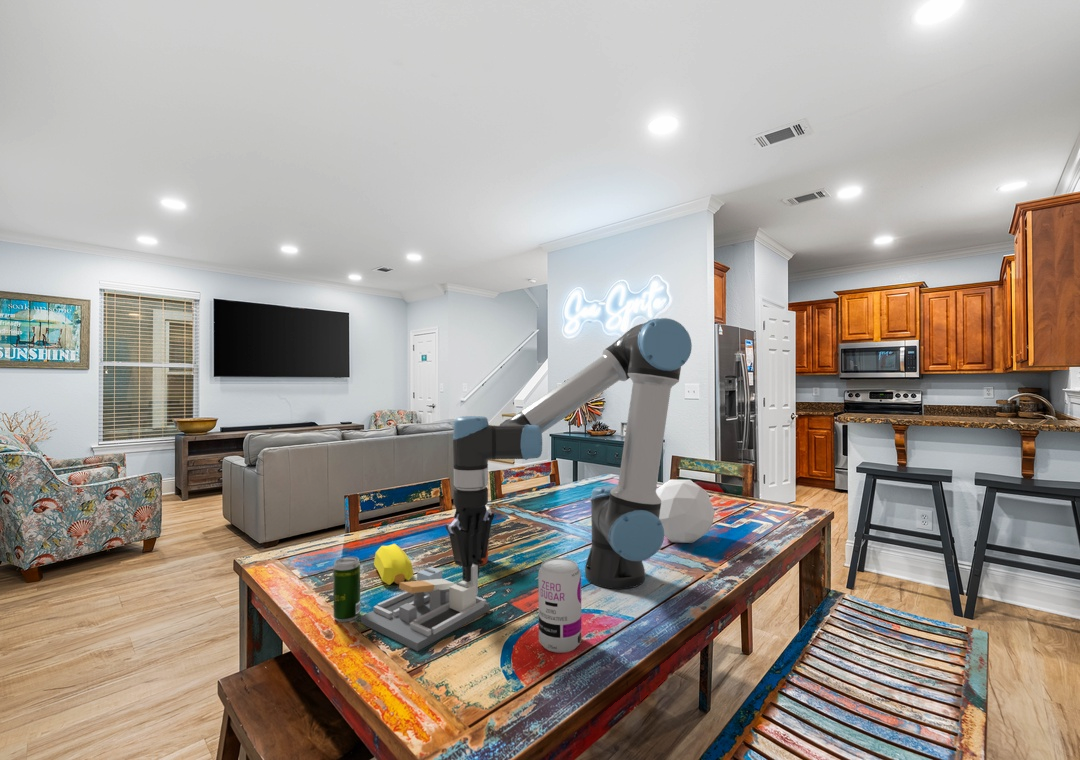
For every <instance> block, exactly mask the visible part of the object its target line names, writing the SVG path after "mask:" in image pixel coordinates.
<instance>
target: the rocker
mask: <svg viewBox="0 0 1080 760" xmlns="http://www.w3.org/2000/svg"><path fill="white" fill-rule="evenodd" d="M454 584H455V582H454V581H450V580H447V579H444V578H442V579H432V580H421V581H417V580H411V581H410V580H409V581H404V582H400V584H398V589H399V590H402V591H404V592H409V593H419V592H427V593H431V592H434V591H436V590H438V589H439V590H445V589H449V587H450V586H452V585H454Z"/></svg>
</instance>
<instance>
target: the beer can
mask: <svg viewBox="0 0 1080 760" xmlns="http://www.w3.org/2000/svg"><path fill="white" fill-rule="evenodd" d="M332 571H333V572H332V573H333V574H332V575H333V578H332V580H333V582H332V583H333V589H332V590H333V592H332V593H333V600H332V601H333V617H334V620H335V621H336V622H338V623H347V622H348V623H349V622H352V621H354V620H356V619H357V618H359V616H360V614H361V609H362V608H361V563H360V558H359V557H357V556H346V557H345V556H344V557H342V558H341V557H340V558H338V559H336V560H334V565H333V568H332Z"/></svg>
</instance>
